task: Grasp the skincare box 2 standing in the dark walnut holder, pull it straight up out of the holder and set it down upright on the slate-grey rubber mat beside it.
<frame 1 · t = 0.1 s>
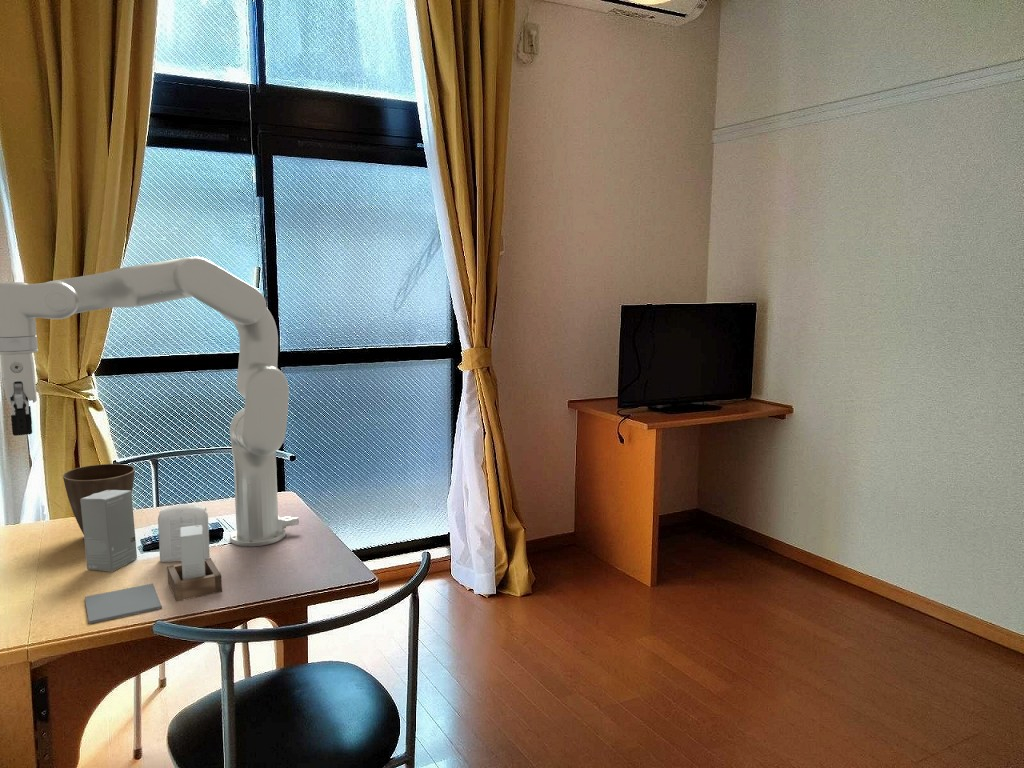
hand: (22, 430, 149), 31 cm above the table, tool pointing down, fingers open, 9 cm apart
walnut holder: (194, 586, 149), on the table
photo printer: (185, 559, 164), on the table
grey mat: (122, 603, 142), on the table
skincare box: (112, 564, 161), on the table
plant pot: (104, 537, 177), on the table
skincare box 2: (194, 588, 149), resting in walnut holder
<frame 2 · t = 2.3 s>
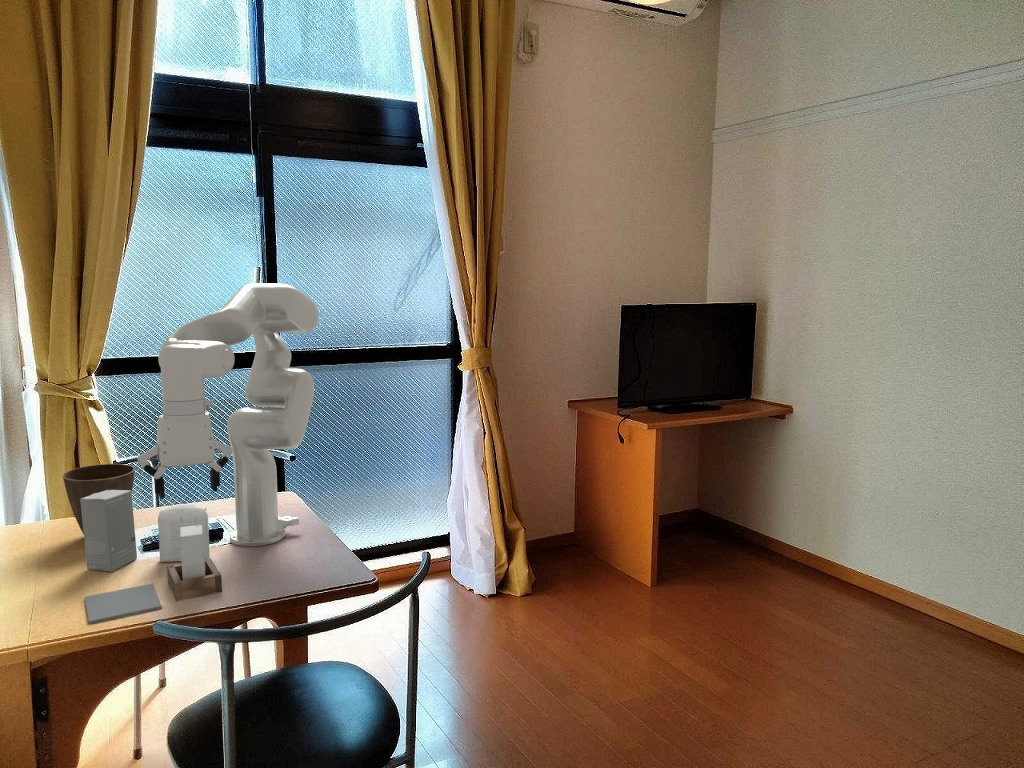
hand: (188, 493, 146), 20 cm above the table, tool pointing down, fingers open, 9 cm apart
nothing on the table moved.
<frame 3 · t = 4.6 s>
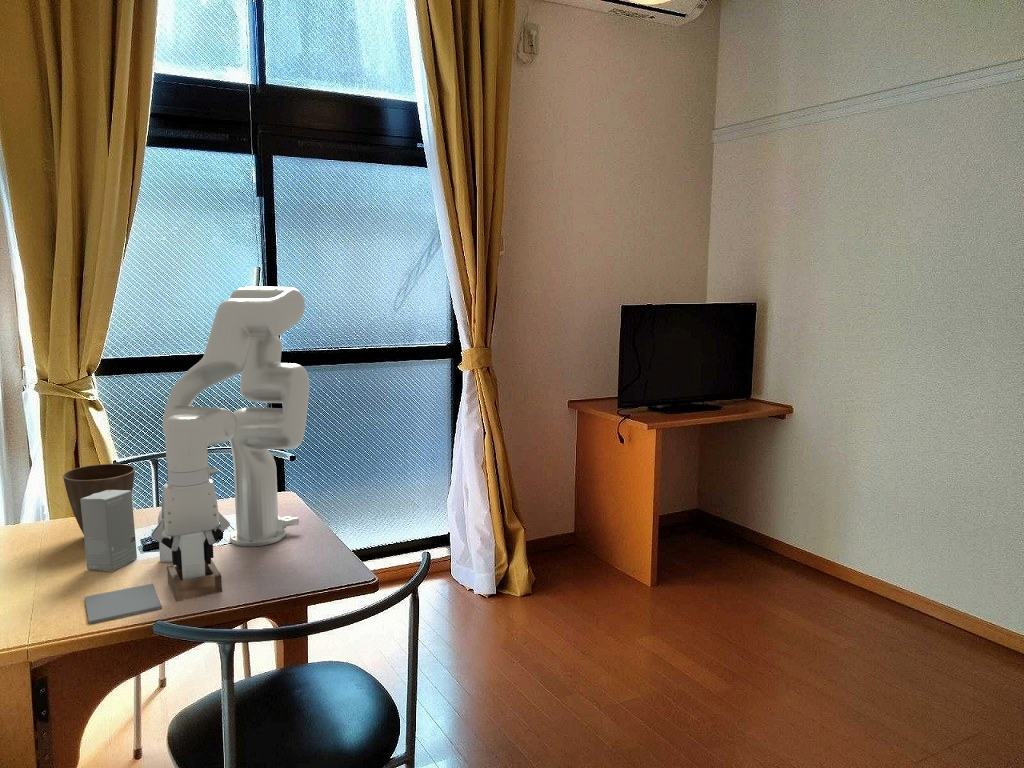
hand: (193, 563, 149), 5 cm above the table, tool pointing down, fingers closed on skincare box 2, 4 cm apart
skincare box 2: (194, 588, 149), resting in walnut holder, touching gripper
everything else where it was.
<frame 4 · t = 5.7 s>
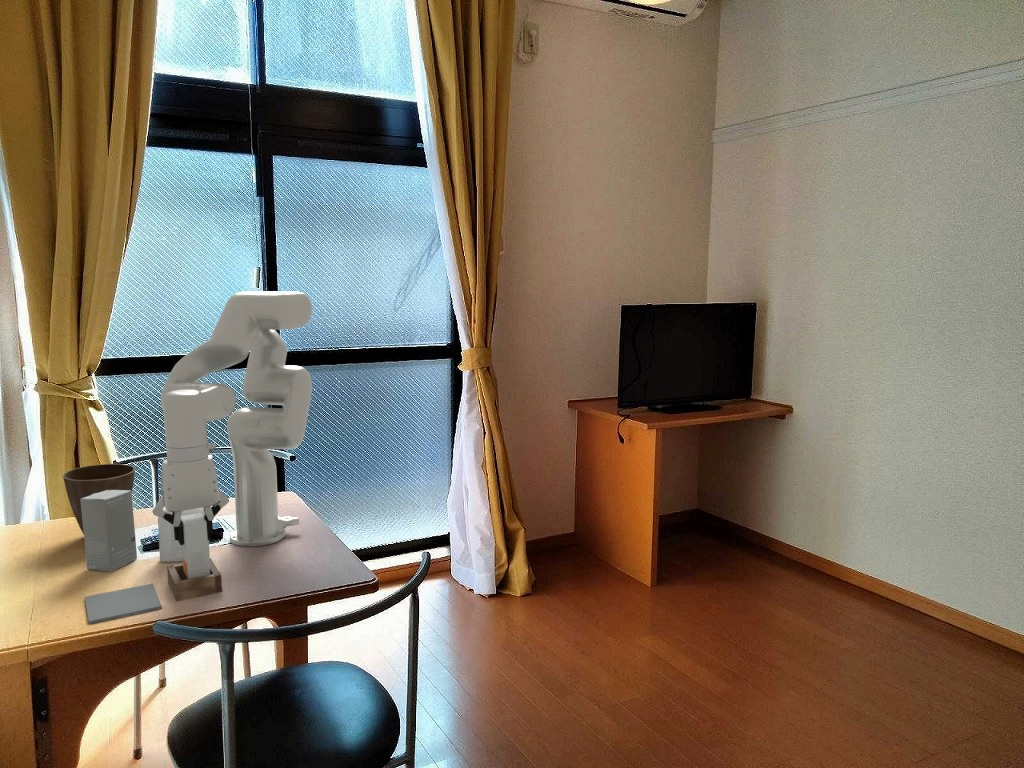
hand: (194, 539, 149), 10 cm above the table, tool pointing down, fingers closed on skincare box 2, 4 cm apart
skincare box 2: (196, 576, 150), point 2 cm above the table, touching gripper
everything else where it was.
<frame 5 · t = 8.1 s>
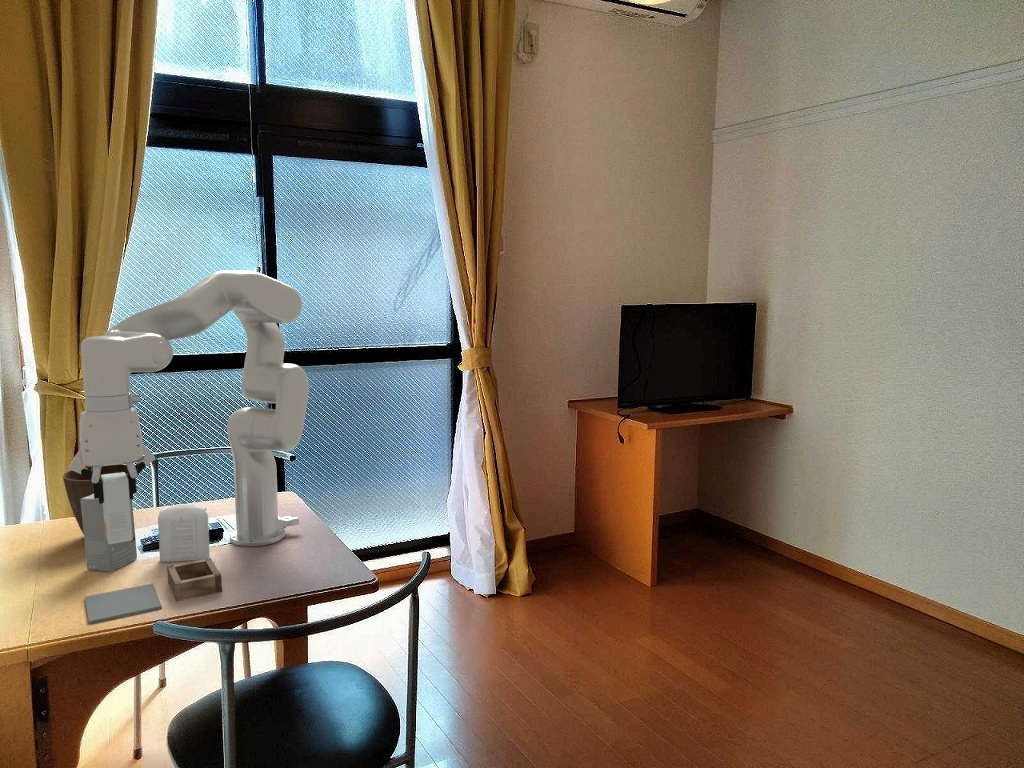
hand: (115, 498, 139), 21 cm above the table, tool pointing down, fingers closed on skincare box 2, 4 cm apart
skincare box 2: (118, 539, 140), point 13 cm above the table, touching gripper
everything else where it was.
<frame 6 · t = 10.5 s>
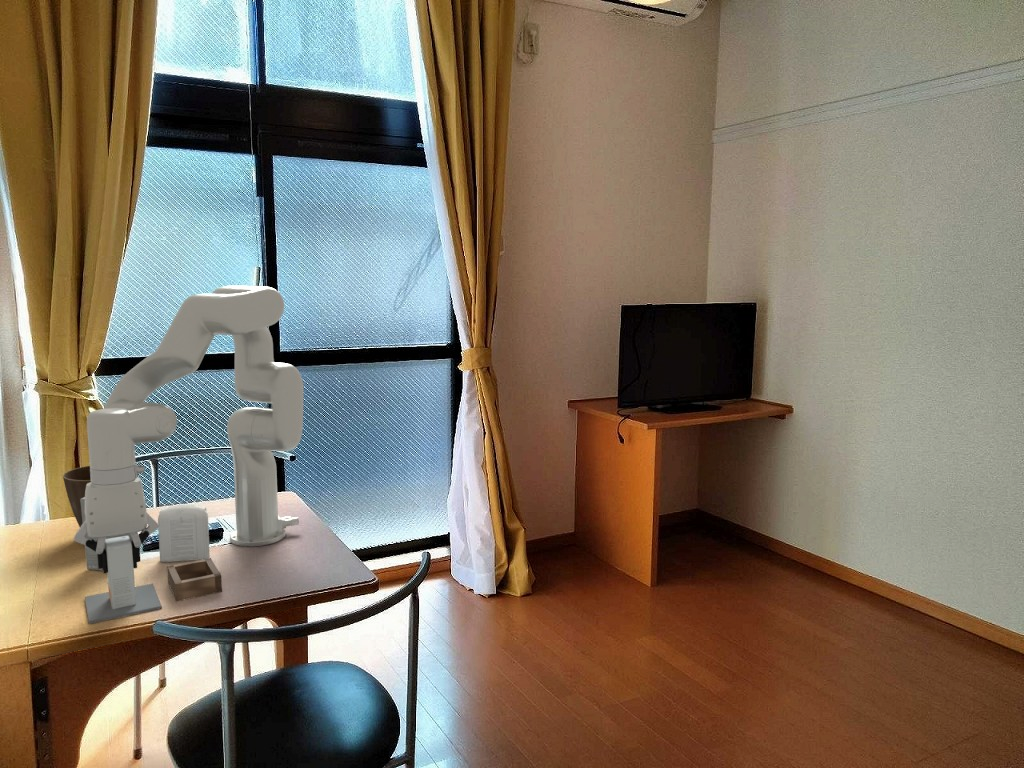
hand: (119, 567, 140), 7 cm above the table, tool pointing down, fingers closed on skincare box 2, 4 cm apart
skincare box 2: (122, 602, 141), resting on grey mat, touching gripper
everything else where it was.
when the fingers open (7 cm above the table, at t = 11.3 s): skincare box 2 stays where it is, resting on grey mat.
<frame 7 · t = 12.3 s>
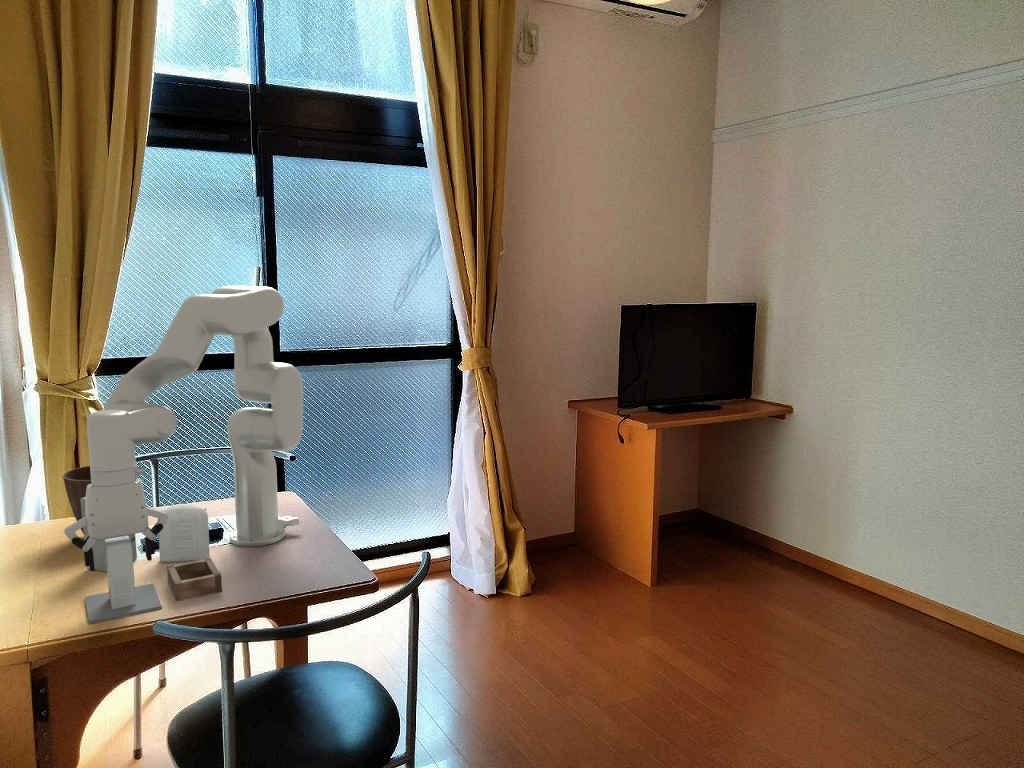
hand: (120, 563, 141), 8 cm above the table, tool pointing down, fingers open, 9 cm apart
skincare box 2: (122, 602, 141), resting on grey mat
everything else where it was.
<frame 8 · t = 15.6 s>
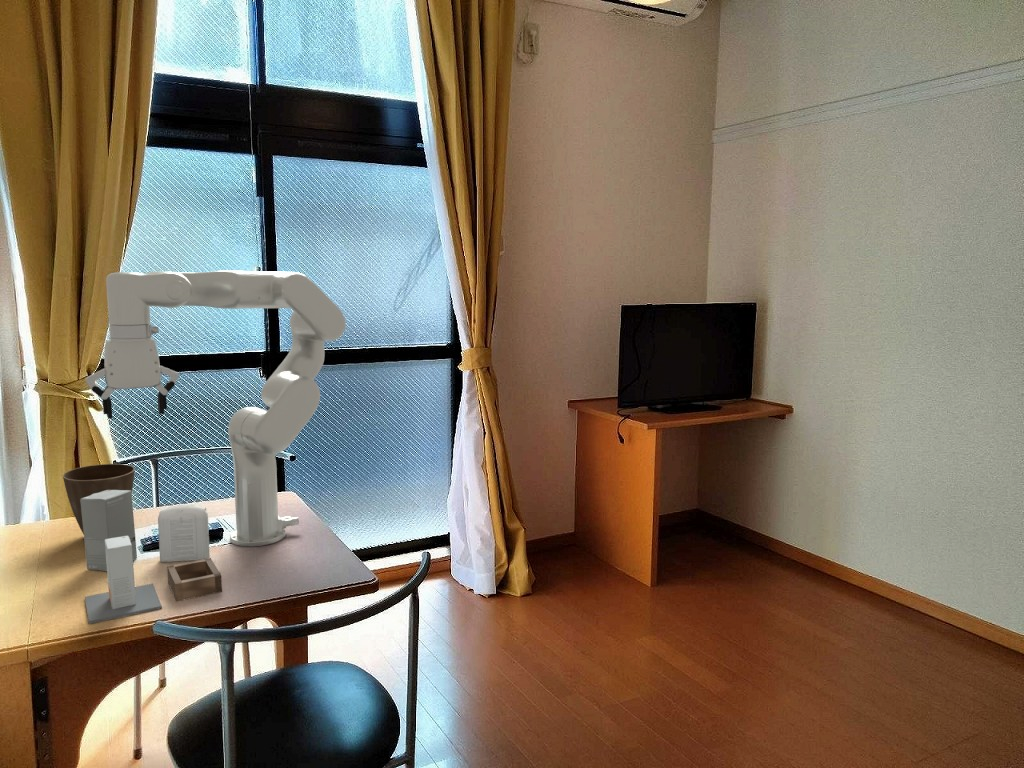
hand: (136, 415, 154), 33 cm above the table, tool pointing down, fingers open, 9 cm apart
nothing on the table moved.
at the end: skincare box 2 inside the target area on the grey mat (0.2 cm from its centre), point 0.3 cm above the grey mat's base; skincare box 2 tilted 0° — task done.
